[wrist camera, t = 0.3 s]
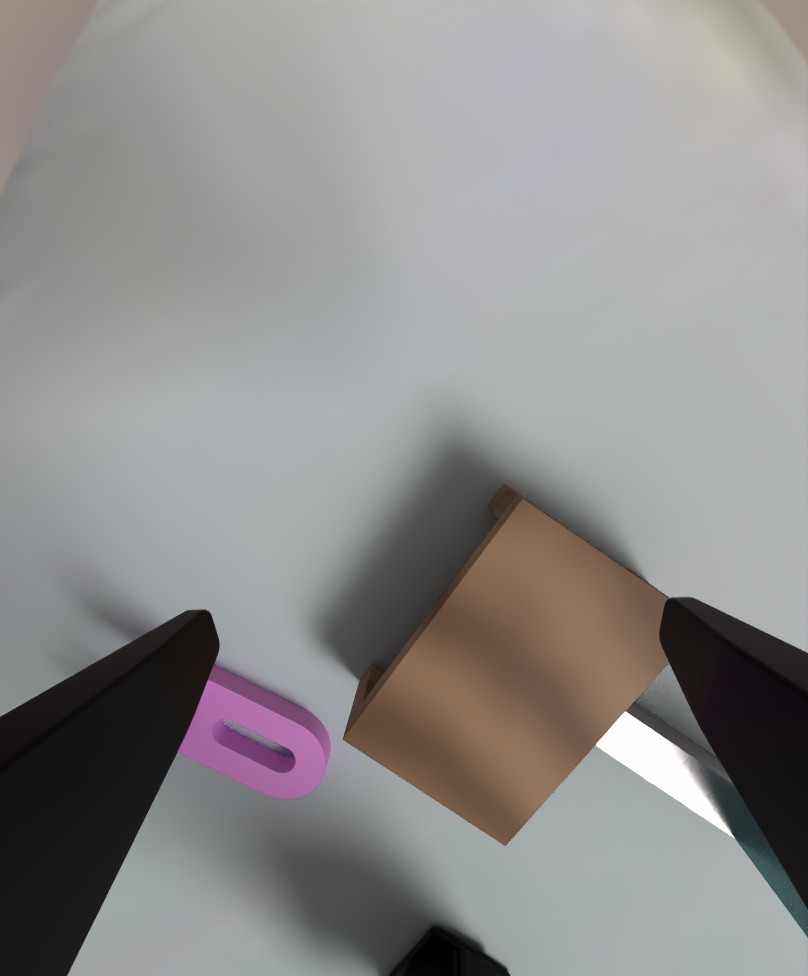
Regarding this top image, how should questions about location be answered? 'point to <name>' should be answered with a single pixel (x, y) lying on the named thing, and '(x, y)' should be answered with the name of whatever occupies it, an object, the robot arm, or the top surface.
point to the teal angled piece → (697, 790)
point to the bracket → (250, 758)
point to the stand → (512, 671)
